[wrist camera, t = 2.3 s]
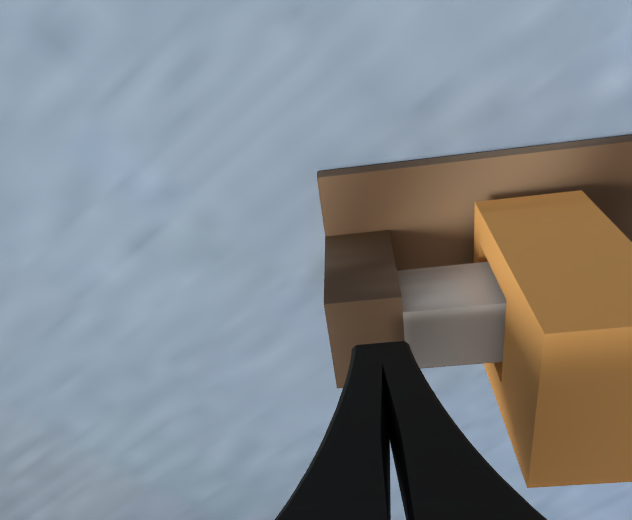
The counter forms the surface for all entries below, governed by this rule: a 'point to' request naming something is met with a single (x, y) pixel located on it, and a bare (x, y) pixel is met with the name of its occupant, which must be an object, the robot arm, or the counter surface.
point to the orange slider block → (562, 336)
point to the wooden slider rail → (442, 243)
